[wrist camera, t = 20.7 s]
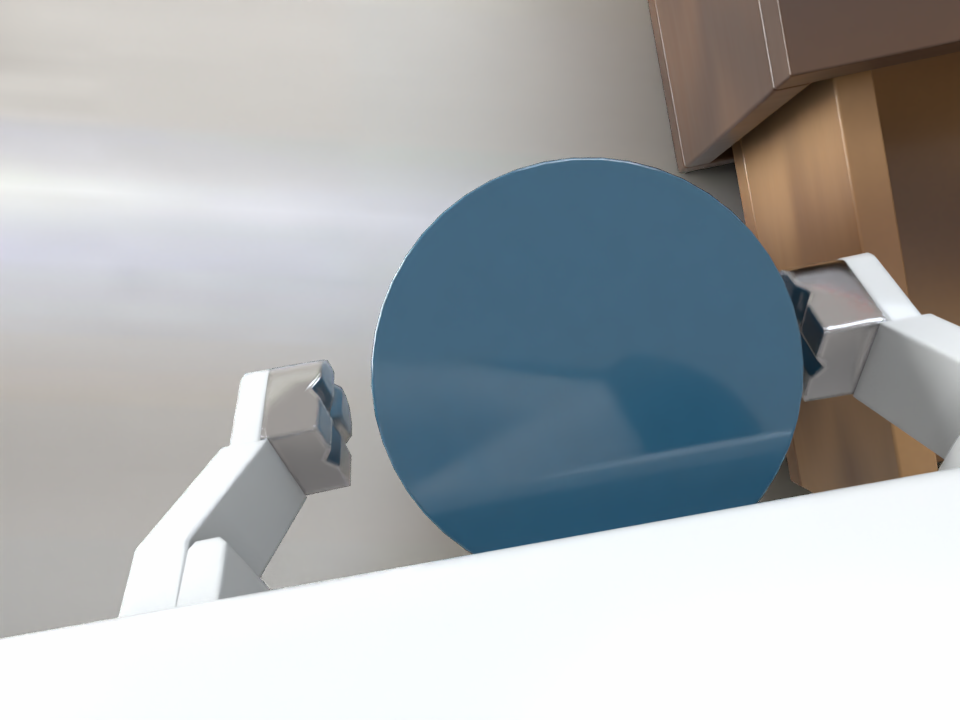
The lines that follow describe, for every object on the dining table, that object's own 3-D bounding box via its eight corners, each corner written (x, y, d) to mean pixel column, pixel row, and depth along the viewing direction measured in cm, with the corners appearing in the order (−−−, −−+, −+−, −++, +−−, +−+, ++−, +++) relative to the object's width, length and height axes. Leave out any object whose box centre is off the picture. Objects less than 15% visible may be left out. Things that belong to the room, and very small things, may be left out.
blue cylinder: (604, 469, 22) (716, 645, 10) (419, 406, 22) (314, 506, 10) (670, 283, 22) (869, 237, 10) (482, 220, 22) (448, 98, 10)
